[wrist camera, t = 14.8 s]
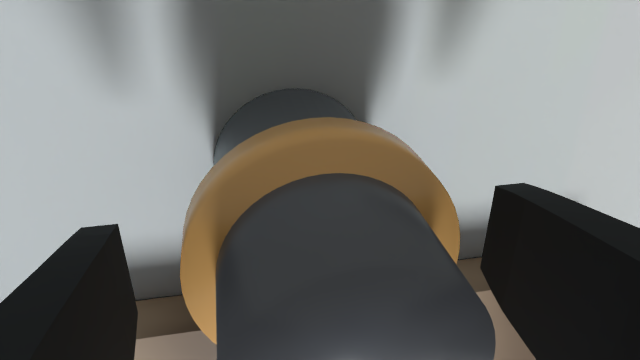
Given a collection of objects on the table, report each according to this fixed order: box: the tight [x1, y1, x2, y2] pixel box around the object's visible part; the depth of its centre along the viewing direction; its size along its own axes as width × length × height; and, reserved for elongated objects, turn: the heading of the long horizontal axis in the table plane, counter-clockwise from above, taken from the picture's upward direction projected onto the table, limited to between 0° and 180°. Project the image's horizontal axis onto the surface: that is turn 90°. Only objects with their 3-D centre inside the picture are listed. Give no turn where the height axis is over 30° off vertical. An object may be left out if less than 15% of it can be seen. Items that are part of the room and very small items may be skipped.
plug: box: [180, 89, 496, 360], centre depth 10 cm, size 5×5×7 cm
